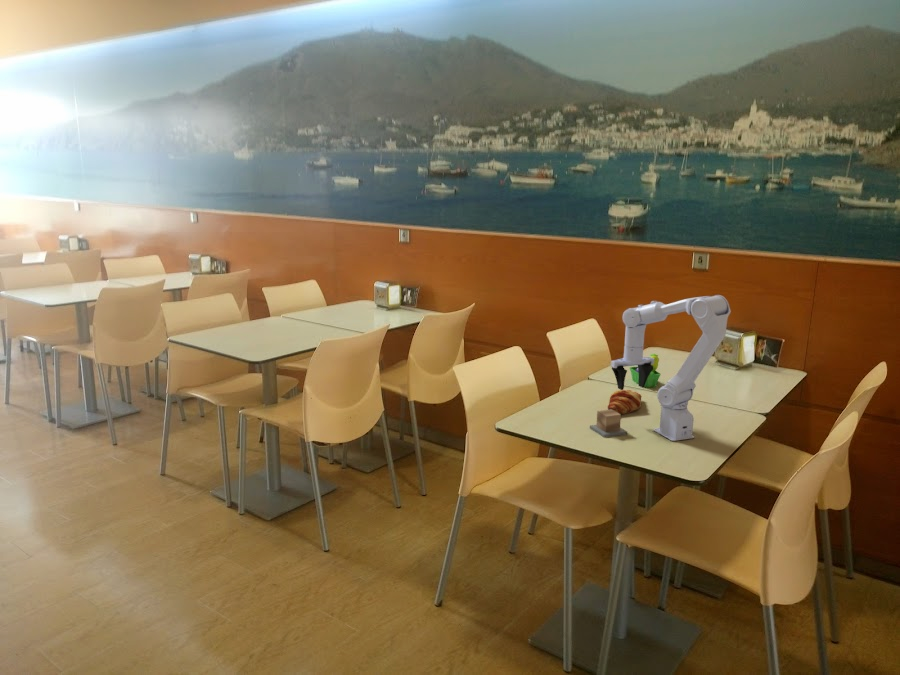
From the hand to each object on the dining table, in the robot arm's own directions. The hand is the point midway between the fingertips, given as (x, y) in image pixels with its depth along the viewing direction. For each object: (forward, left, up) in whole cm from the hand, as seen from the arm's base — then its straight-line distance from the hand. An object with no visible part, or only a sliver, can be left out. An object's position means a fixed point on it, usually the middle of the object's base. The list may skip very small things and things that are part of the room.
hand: (631, 387), depth 215 cm
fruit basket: (+31, -28, -11) cm, 43 cm away
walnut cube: (-7, +12, -10) cm, 17 cm away
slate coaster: (-7, +12, -10) cm, 17 cm away
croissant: (+9, -5, -11) cm, 15 cm away
